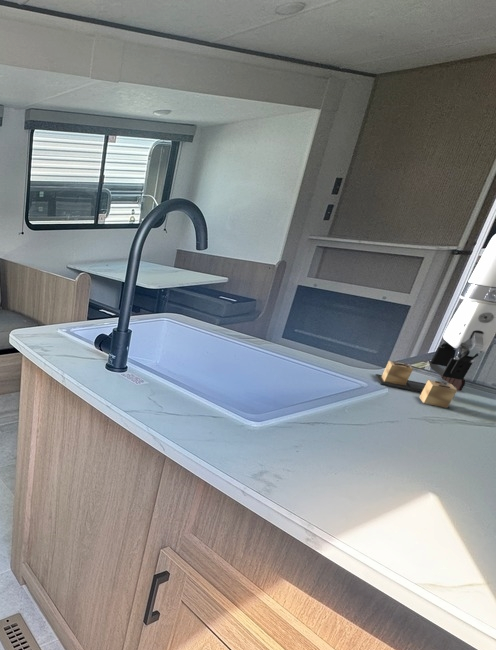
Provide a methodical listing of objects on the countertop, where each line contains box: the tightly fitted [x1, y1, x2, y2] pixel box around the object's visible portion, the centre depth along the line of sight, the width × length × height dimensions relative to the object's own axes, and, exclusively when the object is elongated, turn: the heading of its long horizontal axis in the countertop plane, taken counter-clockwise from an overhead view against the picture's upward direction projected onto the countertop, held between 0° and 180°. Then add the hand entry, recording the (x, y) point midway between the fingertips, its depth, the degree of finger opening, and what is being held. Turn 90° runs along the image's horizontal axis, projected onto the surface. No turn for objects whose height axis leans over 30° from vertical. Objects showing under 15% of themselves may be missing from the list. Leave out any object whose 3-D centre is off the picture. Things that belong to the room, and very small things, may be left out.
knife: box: [428, 359, 466, 392], centre depth 112 cm, size 17×1×3 cm, turn 159°
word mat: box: [375, 373, 427, 394], centre depth 107 cm, size 11×8×1 cm
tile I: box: [418, 379, 458, 409], centre depth 97 cm, size 4×4×5 cm
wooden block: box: [381, 360, 414, 385], centre depth 107 cm, size 4×4×5 cm
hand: (445, 371), depth 95 cm, fingers open, 9 cm apart
